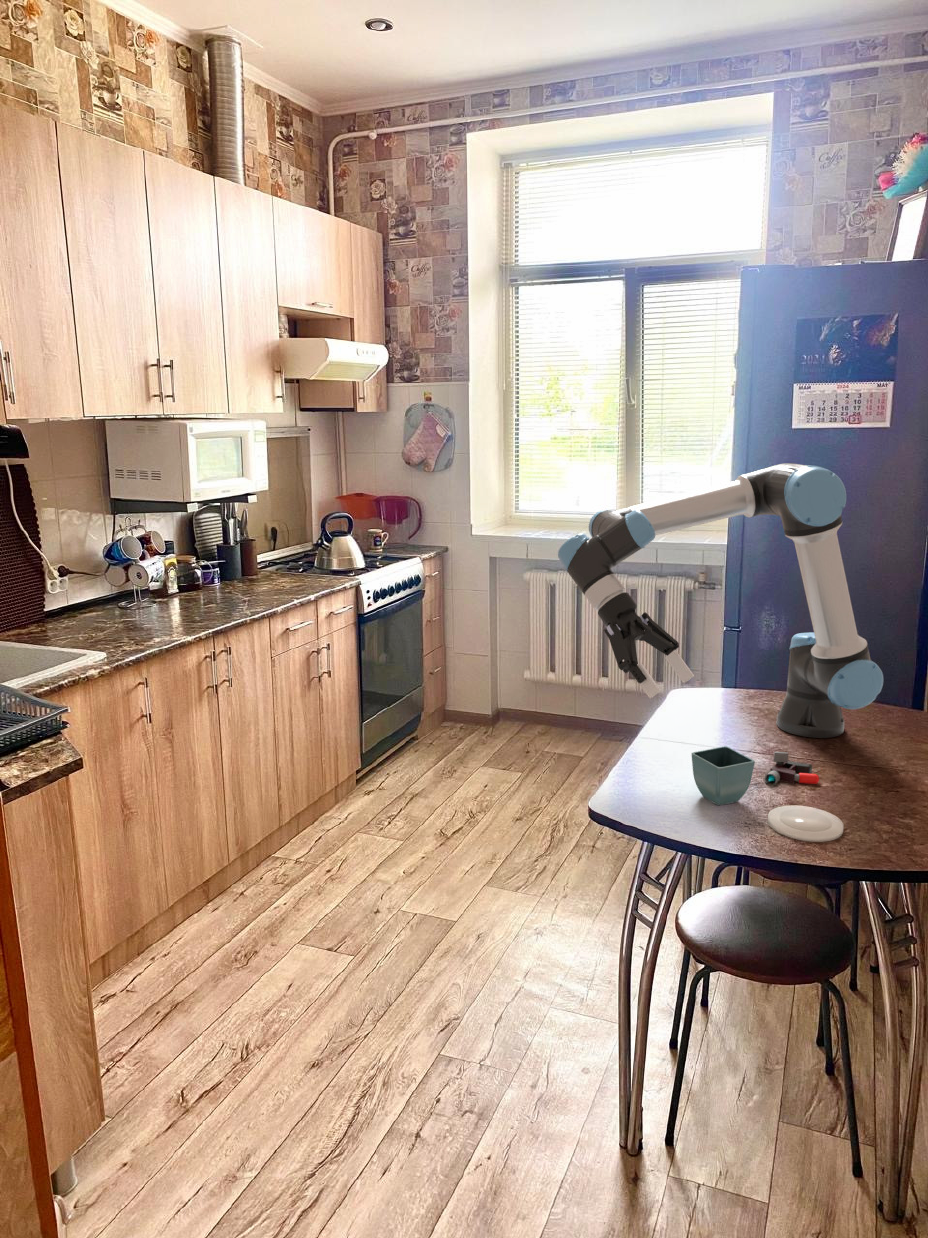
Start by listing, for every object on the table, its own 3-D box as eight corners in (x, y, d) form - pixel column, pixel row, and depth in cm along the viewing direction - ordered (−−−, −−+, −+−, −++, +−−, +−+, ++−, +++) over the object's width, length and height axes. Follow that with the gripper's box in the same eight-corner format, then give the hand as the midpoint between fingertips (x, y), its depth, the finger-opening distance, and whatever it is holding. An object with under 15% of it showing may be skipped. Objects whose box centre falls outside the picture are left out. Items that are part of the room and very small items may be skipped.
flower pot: (716, 812, 176) (719, 768, 174) (687, 794, 184) (690, 752, 182) (753, 804, 179) (756, 760, 177) (723, 787, 187) (726, 745, 185)
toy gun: (759, 784, 189) (761, 762, 188) (779, 767, 199) (781, 745, 197) (808, 796, 184) (810, 773, 182) (826, 777, 193) (828, 756, 192)
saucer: (810, 806, 178) (810, 800, 178) (859, 835, 166) (859, 829, 166) (753, 816, 174) (753, 810, 174) (798, 846, 162) (799, 840, 162)
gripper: (631, 603, 201) (689, 683, 195) (565, 622, 183) (627, 711, 177) (654, 582, 197) (714, 664, 190) (589, 599, 178) (653, 690, 172)
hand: (672, 687), depth 184 cm, fingers open, 13 cm apart
